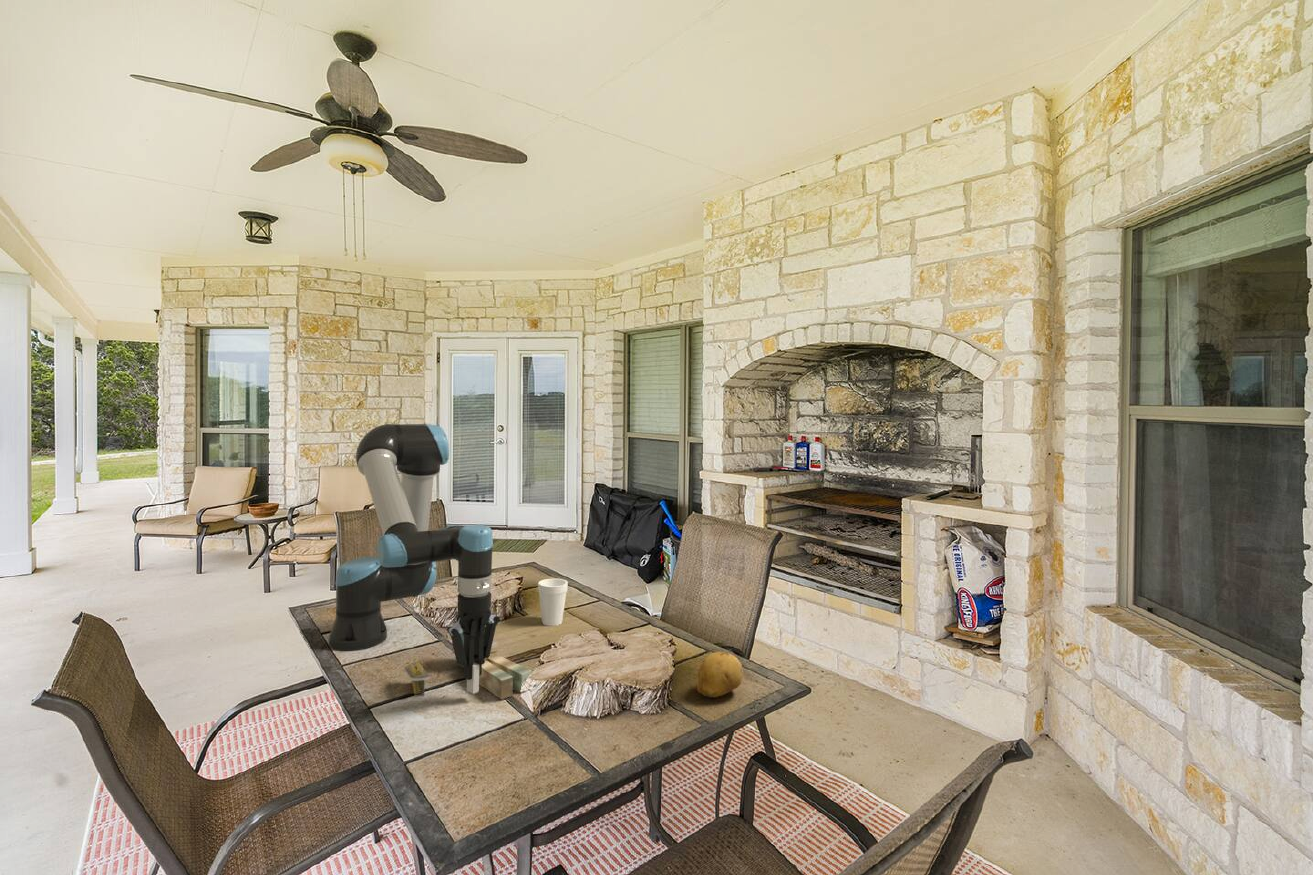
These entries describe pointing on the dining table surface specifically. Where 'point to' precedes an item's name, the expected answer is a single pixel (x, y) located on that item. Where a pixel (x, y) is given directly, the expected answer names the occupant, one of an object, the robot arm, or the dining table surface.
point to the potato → (719, 674)
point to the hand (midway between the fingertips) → (472, 690)
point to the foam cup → (552, 600)
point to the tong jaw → (496, 680)
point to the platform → (417, 676)
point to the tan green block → (511, 670)
